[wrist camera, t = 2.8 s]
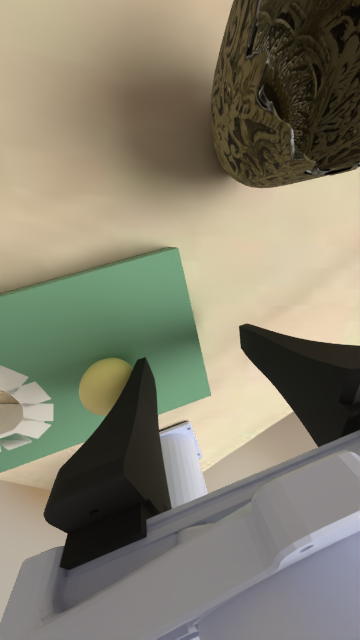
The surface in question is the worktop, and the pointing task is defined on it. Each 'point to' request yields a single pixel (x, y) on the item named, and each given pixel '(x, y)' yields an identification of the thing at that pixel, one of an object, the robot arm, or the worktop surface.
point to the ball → (103, 384)
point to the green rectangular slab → (92, 348)
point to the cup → (288, 91)
